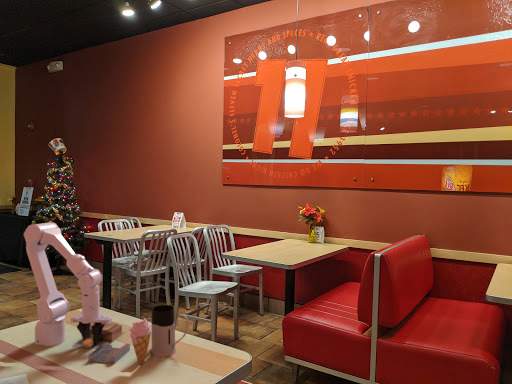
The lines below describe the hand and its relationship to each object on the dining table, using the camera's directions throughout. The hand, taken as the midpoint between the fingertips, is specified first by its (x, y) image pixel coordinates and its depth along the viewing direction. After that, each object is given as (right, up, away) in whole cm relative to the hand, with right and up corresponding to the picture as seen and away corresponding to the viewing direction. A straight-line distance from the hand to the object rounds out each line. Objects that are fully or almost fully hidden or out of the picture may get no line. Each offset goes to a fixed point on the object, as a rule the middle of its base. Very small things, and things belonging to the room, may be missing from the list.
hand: (91, 343), depth 138 cm
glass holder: (+29, -2, -4) cm, 29 cm away
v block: (+10, -2, -9) cm, 13 cm away
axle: (+1, -1, +4) cm, 4 cm away
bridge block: (+1, -2, +5) cm, 5 cm away
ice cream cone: (+21, -2, -13) cm, 25 cm away
